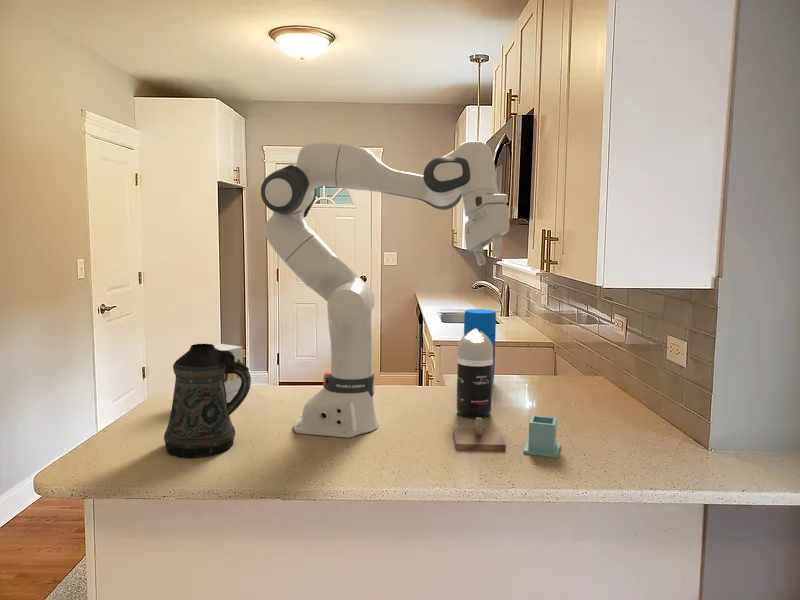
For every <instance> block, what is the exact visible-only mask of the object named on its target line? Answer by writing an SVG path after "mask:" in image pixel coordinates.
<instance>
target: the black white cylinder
mask: <svg viewBox="0 0 800 600" xmlns="http://www.w3.org/2000/svg"><path fill="white" fill-rule="evenodd" d="M456 363H457V366H456V367H457V372H456V373H457V376H456V377H457V378H456V411H457V413H458V414H459V415H460V416H463V417H466V418H471V419H476V418H477V417H479V418H485V417H487V416H489V415H490V414H491V412H492V394H493V393H492V392H493V391H492V390H493V384H492V364H493V345H492V343H491V341H490V339H489V338H488V337H487V336H486V335H485V334H484V333H483V332H481V331H480V330H479V329H477V328H474V329H472V330H471V331H470V332H468V333H467V334H466V335H465V336H464V335H463V337H462V338H461V339H460V340H459V342H458V345H457V358H456Z"/></svg>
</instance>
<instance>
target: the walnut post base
mask: <svg viewBox="0 0 800 600" xmlns="http://www.w3.org/2000/svg"><path fill="white" fill-rule="evenodd" d="M474 426H475V427H452V435H453V436H452V437H453V440H454V447H455V451H497V452H499V451H501V452H505V451H506V450H507V449H506V447H507V445H506V442H505V439H504V437H503V434H502V432H501V429H500V428H497V427H495V428H494V427H493V428H492V427H483V417H481V418H479V417H477V418H475V425H474ZM506 452H507V451H506Z"/></svg>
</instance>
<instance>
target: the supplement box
mask: <svg viewBox="0 0 800 600" xmlns="http://www.w3.org/2000/svg"><path fill="white" fill-rule="evenodd" d="M214 347H215V348H216V349H218V350H228V351H231V353H232V354H233V355H234V356H235V362H238V361H239V362H241V363H243V362H244V361H243V346H241V345H240V346H239V345H232V344H225V343H219V344H214ZM243 364H244V363H243ZM241 382H242V381H241V378H240V377H239V376H238V375H237V374H225V373H224V383H225V389H226V397H227V398H226V400H227V403H229V402H231V400H232V399H233V398H234V397H235V395H236V394H237V393H238V391H239V389H240V386H241Z"/></svg>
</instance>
